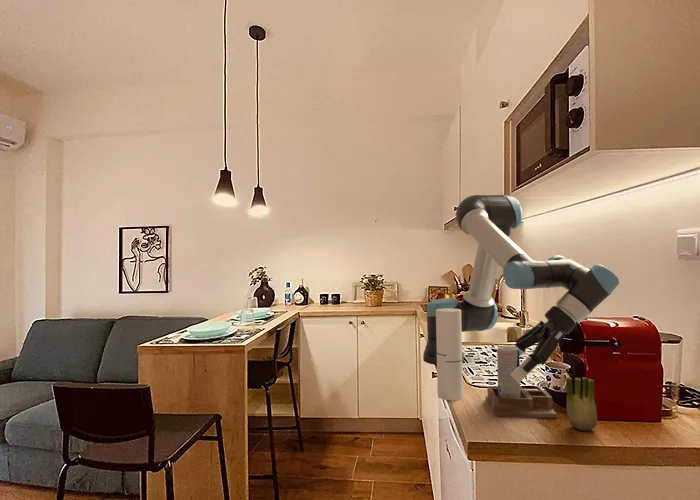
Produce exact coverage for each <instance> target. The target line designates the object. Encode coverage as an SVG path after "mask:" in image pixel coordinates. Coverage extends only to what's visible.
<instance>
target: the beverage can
mask: <svg viewBox="0 0 700 500" xmlns="http://www.w3.org/2000/svg"><path fill="white" fill-rule="evenodd" d="M496 348H497V350H496V352H497V353H496V357H497V359H496V361H497V362H496V363H497V364H496V365H497V388H498V398H520V388H521V382H520V383H518V382H517V381H516V380H515V379H514V378H513V377H512V376H511V375H510V374H511V373H512V372H513V371H514V370H515V369H516V368H517V367H518V366H519V365H520V363H521V362H520V361H521V360H520V356H519V348H517V347H514V346H512V345H511V346H510V345H502V346H501V345H499V346H498V347H496Z"/></svg>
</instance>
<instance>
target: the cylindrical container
mask: <svg viewBox="0 0 700 500" xmlns="http://www.w3.org/2000/svg"><path fill="white" fill-rule="evenodd" d="M462 335H463V333H462V329H461V310H460V309H452V308H444V309H436V340H437V365H436V377H437V378H436V379H437V382H436V383H437V397H438V399H441V400H444V401H459V400H463V398H464V386H463V384H464V383H463V382H464V381H463V380H464V379H463V363H462V352H463V342H462V341H463V339H462V338H463V336H462Z"/></svg>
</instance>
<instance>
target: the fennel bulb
mask: <svg viewBox="0 0 700 500" xmlns="http://www.w3.org/2000/svg"><path fill="white" fill-rule="evenodd" d="M565 379H566V380H565V381H566V405H565V408H566V415H567V420H568V421H569V424H570V426H571V427H573V428H574V429H577V430H579V431H582V432H590V431H592V430H593V429H595V428H596V425H597V423H598V412H597V406H596V402H595V380H594V379H591V378H587V377H584V376H582V377H581V378H580V377H575V378H574V386H573V379H572V377H566V378H565ZM581 381H582V382H581ZM573 387H574V388H573Z"/></svg>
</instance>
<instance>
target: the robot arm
mask: <svg viewBox="0 0 700 500" xmlns="http://www.w3.org/2000/svg"><path fill="white" fill-rule="evenodd" d="M522 220H523V209H522V206H521V203H520V201H519V200H518V199H517V198H516V197H514V196H512V195H504V194H490V195H489V194H482V195H481V194H473V195H469V196H467V197H465V198H464V199H463V200H462V201H460V202H459V204H458V206H457V207H456V211H455V221H456V223H457V225H458V227H459V228H460V230H461V231H462V232H463V233H464V234H466V235H469V236H471V237H472V238H473V239H474V240H475V241H476V242H477V243H478V244H477V249H476V253H475V254H476V255H475V259H474V265H473V267H472V269H473V270H472V271H471V276H470V277H471V278H470V282H469V288H468V291H466V292H464V293H463V297H462V300H461V301H459V300H458V299H457V298H455V297H444V298H443V297H442V298H437V299H434V300H431V301H430V302H428V304H427V305H426V306H427V307H426V330H427V331H426V332H427V340H426V345H425V348H424V351H423V353H422V355H423V357H422V358H423V362H425V363H426V364H430V365H436V366H437V340H436V309H444V308H452V309H460V310H461V329H462V332H463V333H464V332H466V333H468V332H483V331H487V330H488V331H489V330H491V329H492V328H493V327H495V326H496V324H497V321H498V318H499V312H498V310H499V309H498V306H497V304H496V302H495V299H494V298H493V296H492V295H493V291H494V286H495V283H496V278H497V274H498V270H499V266H500V268H502V269H503V270H502V278H503V279H502V280H504V283H505V285H506V286H507V287H508V288H509V289H513V290H522V291H523V290H529V289H530V290H531V289H549V288H564V289H566V290H568V291H567V292H565V293H564V294H563V295H562V296H561V297H560V298H559V299H558V300H557V301H556V302H555V305H556V306H555V305H552V306H551V307H550V308H549V309H548V310H547V311H546V312H545V313H544V317H545V318H546V320H547V321H546V322H544V321H543V320H540V321H539V322H538V323H537V324H536V325H535V326H534V327H532V328H530V329H529V330H528V331H527V332H525V333H524V334H522V335H521V336H520V337H519V338H517V339H516V340H515V345H514V346H513V347H517V348H519V357H521V356H522V354H523V353H524V354H525V353H526V350H527V349H529V348H530V347H532V346H534V345H536V346H535V348H534V350H533V352H532V353H529V354H528V356H527V357H526V358H525V359H524V360H523V361H522V362H520V363H521V364H520V365H519V366H518V367H517V368H516V369H515V370H514V371H513V372H512V373H511V374H510V375H511V376H512V377H513V378H514V379H515V380H516V381H517V382H518V383H520V384H521V382H522V381H523V379H525V378H526V377H527V376H528V375H529V374H530V373H531V372H532V371H533V370H534V369H535V368H536V367H537V366H540V365H542V366H544V365H546V363H547V361H548V359H550V357H551V355H552V354H553V352H554V351H555V350H556V348H557V347H558V345H559V344H560V342H562V340H563V339H564V338H566V337H565V335H566V334H568V335H570V334H571V333H572V332H573V331H574V330H573V328H574V327H575V326H576V324H581V323H582V322H583V321H584V320H587V319H588V318H589V317H588V316H589V315H590V314H591V313H592V312H593V311H594V310H595V309H596V308H597V307H598V306H599V305H601V303H602V302H604V301H605V300H606V299H607V298H608V297H609V296H610V295H611V294H612V293H613V292H614V291H615V290H616V288H617V287H618V286H619V285H620V280H619V277H618V276H617V275H616V274H615V273H614V272H613V271H612V270H611V269H609V268H608V267H606V266H605V265H602V264H599V263H596V264H594V265H593V266H591V267H590V268H587V267H585V266H583V265H581V264H579V263H577V262H576V261H574V260H572V259H571V258H569V257H567V256H562V255H561V254H558V255H553V256H551V257H549V258H548V259H547V260H533V259H532V258H531V257H530V256H528V255H527V253H526V252H525V251H524V250H523V249H521V248H520V247H519V246H518V245H517V244H516V243H515V242H514V241H513V240H512V239H511V238H510V237H511V234H512V230H513V229H514V230H515V229H517V228H518V227H519V226H520V225H521V223H522ZM576 322H578V323H576ZM580 322H581V323H580ZM572 330H573V331H572ZM561 331H562V332H563V333H562V332H561ZM571 331H572V332H571ZM570 332H571V333H570ZM564 333H565V334H564ZM569 333H570V334H569ZM464 362H465V355H464V352H463V351H462V364H463V363H464Z"/></svg>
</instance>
